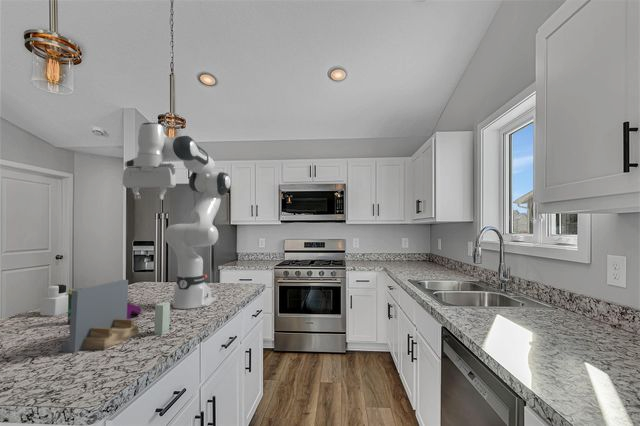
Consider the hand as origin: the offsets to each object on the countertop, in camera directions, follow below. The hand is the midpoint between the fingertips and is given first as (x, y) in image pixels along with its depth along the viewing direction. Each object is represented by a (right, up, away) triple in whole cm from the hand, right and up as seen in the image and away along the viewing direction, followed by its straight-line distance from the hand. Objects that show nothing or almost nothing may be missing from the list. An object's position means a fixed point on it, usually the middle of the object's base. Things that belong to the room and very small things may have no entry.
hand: (149, 199), depth 117 cm
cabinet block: (+10, -48, -9) cm, 50 cm away
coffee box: (-27, -48, +1) cm, 55 cm away
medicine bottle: (-47, -48, +13) cm, 69 cm away
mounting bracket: (-14, -49, +4) cm, 51 cm away
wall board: (-8, -47, -17) cm, 51 cm away
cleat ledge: (-2, -47, -18) cm, 50 cm away
